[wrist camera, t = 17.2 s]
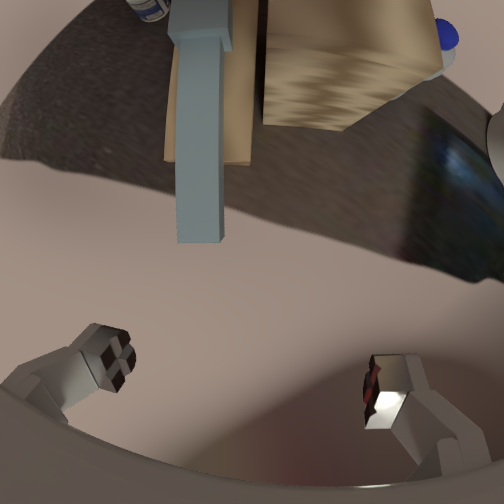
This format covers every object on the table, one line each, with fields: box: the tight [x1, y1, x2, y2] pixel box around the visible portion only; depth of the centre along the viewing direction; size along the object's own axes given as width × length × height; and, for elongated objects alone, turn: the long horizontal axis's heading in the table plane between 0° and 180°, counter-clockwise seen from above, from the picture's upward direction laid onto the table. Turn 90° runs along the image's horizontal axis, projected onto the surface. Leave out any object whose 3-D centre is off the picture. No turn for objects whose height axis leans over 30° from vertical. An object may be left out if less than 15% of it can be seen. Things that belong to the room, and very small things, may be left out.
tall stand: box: [263, 0, 444, 131], centre depth 24 cm, size 11×14×26 cm
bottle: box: [391, 18, 459, 100], centre depth 27 cm, size 7×7×20 cm
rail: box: [168, 0, 233, 243], centre depth 23 cm, size 5×23×5 cm, turn 0°
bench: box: [164, 0, 259, 166], centre depth 31 cm, size 8×20×14 cm, turn 177°
